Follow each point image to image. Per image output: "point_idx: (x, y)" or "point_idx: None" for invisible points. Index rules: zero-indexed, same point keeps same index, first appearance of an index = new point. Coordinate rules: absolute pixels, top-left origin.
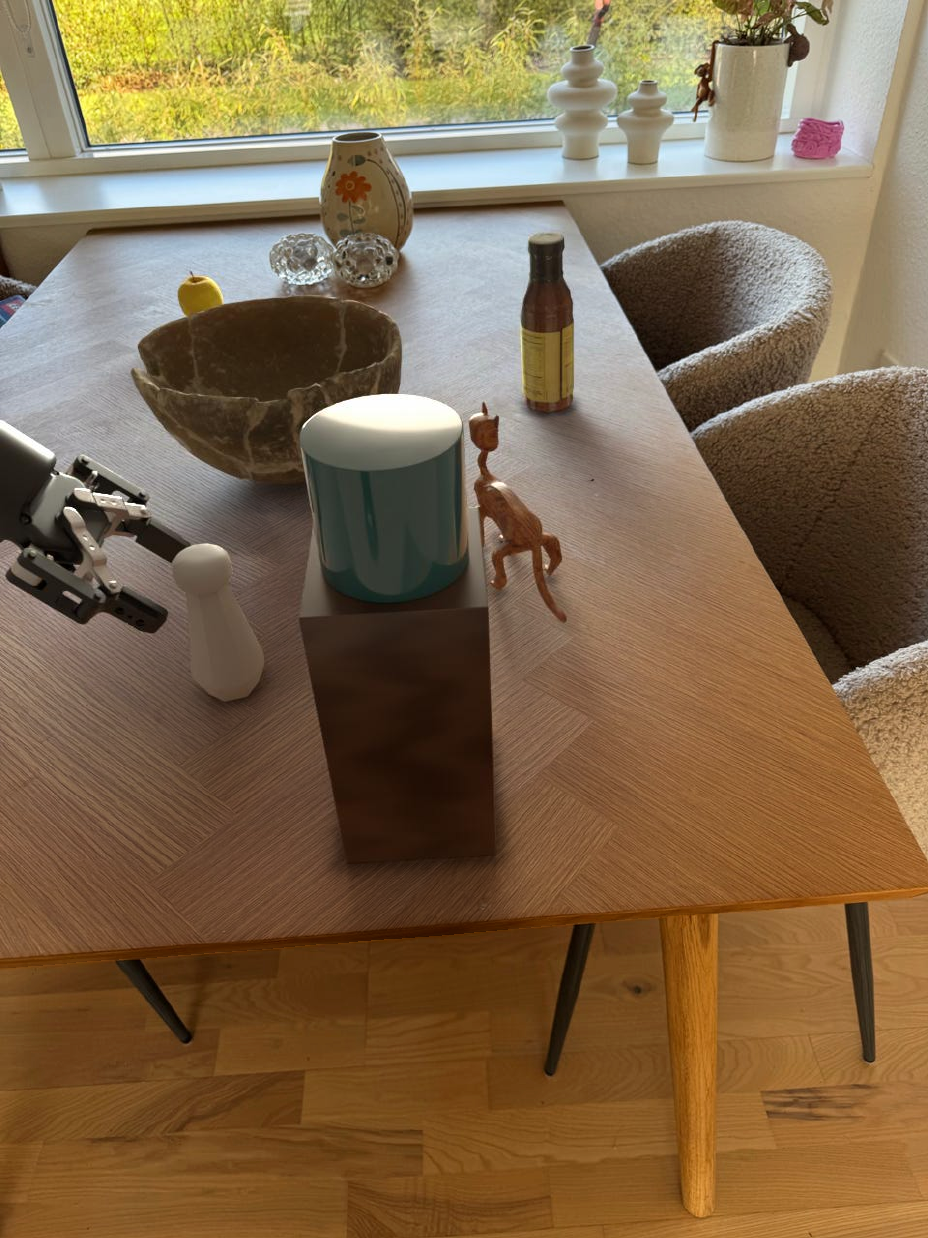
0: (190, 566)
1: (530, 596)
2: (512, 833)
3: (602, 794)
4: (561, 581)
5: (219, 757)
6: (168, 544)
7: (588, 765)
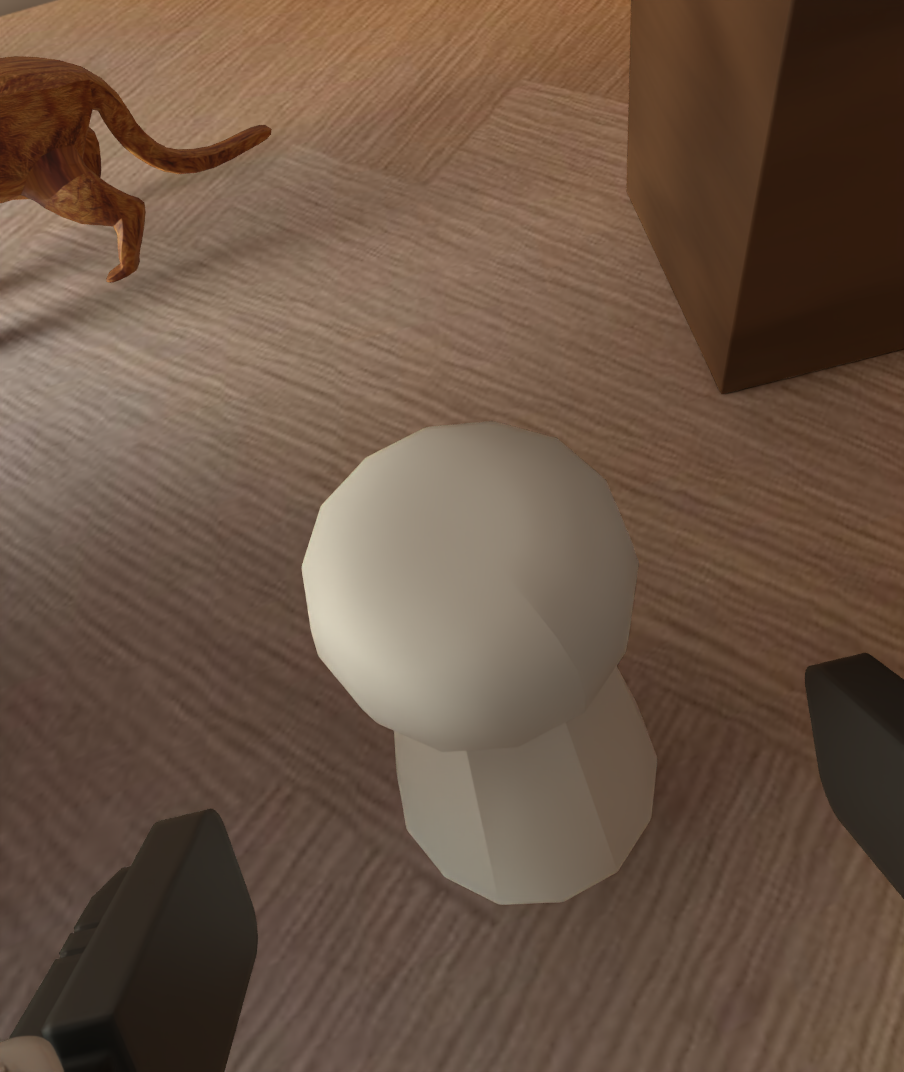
0: (575, 530)
1: (157, 227)
2: None
3: None
4: None
5: None
6: (197, 927)
7: None
